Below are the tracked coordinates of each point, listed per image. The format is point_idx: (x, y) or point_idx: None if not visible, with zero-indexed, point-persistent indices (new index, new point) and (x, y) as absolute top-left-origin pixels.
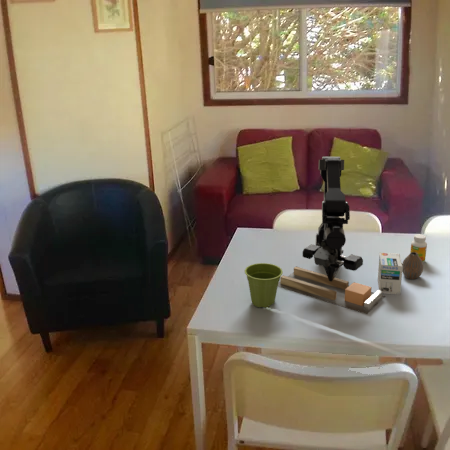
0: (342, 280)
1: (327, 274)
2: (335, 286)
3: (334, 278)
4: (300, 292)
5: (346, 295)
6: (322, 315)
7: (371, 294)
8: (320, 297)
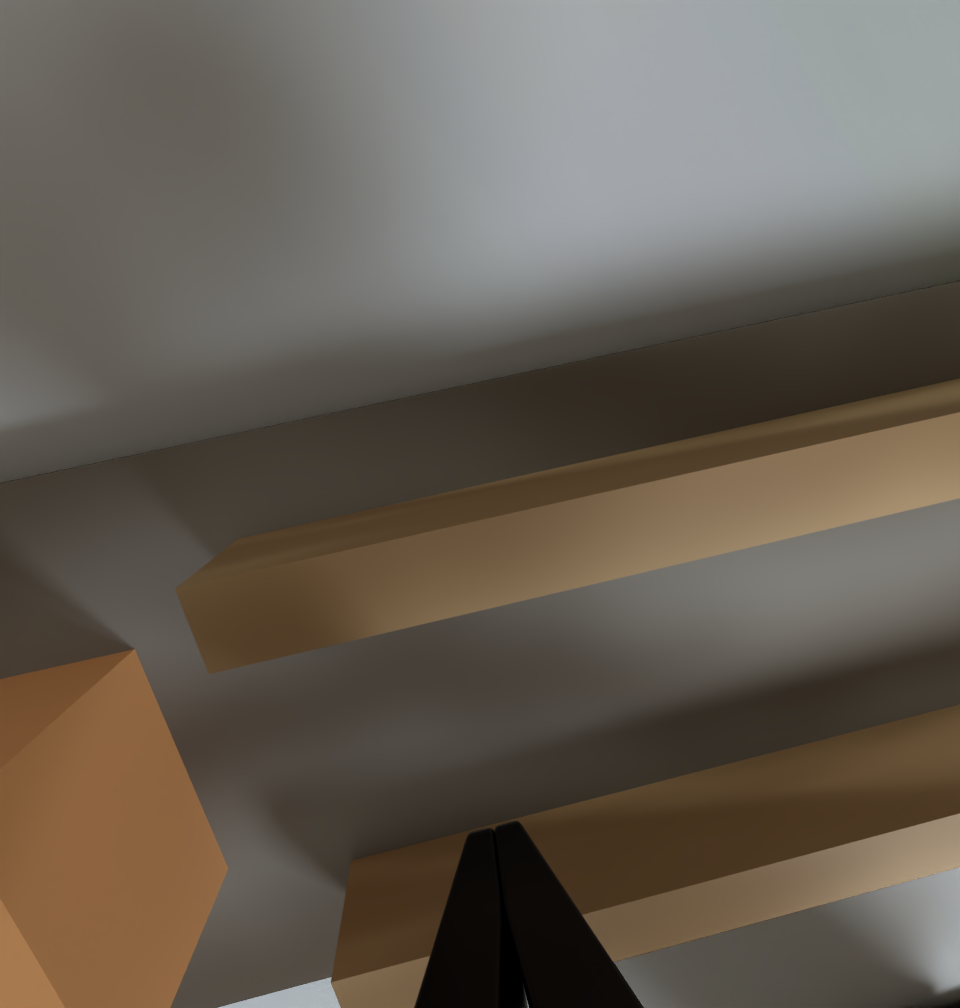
0: None
1: (589, 974)
2: None
3: None
4: (764, 343)
5: (34, 717)
6: (31, 38)
7: None
8: (441, 451)
